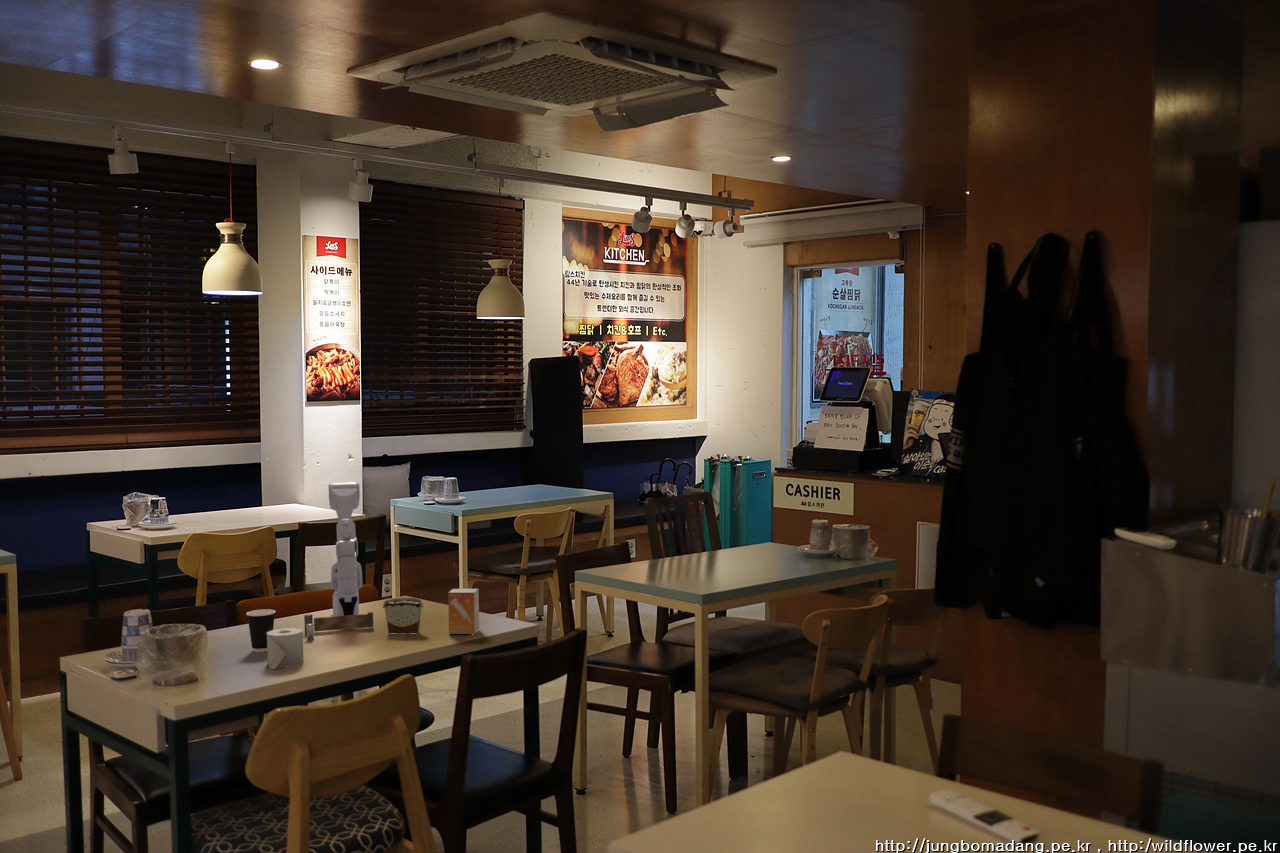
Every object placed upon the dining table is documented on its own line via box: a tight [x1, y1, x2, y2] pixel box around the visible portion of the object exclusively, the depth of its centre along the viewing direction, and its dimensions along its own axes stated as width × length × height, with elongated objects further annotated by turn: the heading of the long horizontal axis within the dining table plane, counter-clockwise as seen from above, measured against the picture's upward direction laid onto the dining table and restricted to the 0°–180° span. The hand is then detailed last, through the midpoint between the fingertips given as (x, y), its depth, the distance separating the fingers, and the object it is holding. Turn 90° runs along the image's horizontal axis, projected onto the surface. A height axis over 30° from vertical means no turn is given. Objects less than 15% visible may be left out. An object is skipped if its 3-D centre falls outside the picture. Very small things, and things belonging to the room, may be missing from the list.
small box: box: [447, 588, 480, 635], centre depth 329 cm, size 8×6×13 cm
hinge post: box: [303, 613, 314, 635], centre depth 333 cm, size 2×2×6 cm
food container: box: [382, 597, 424, 634], centre depth 332 cm, size 12×6×10 cm, turn 84°
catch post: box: [306, 623, 315, 641], centre depth 324 cm, size 2×2×4 cm
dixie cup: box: [246, 608, 277, 653], centre depth 312 cm, size 8×8×11 cm
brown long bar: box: [313, 611, 374, 632], centre depth 336 cm, size 18×2×4 cm, turn 106°
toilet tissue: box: [266, 627, 304, 670], centre depth 295 cm, size 9×13×9 cm
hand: (348, 620), depth 341 cm, fingers closed
